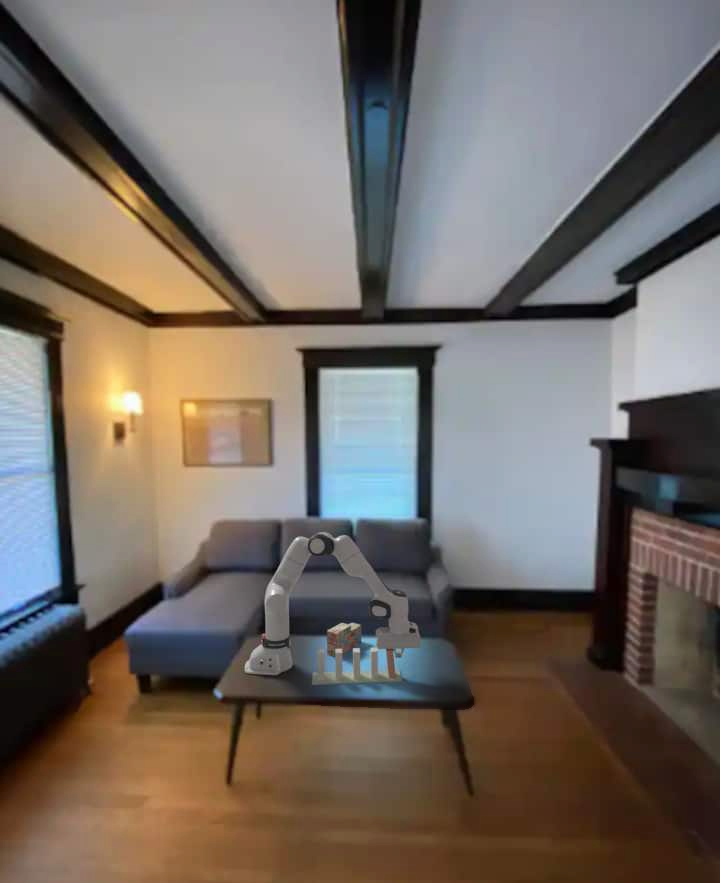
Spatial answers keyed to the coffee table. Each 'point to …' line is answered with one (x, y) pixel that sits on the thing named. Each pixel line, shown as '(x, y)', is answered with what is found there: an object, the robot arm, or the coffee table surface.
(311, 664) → the coffee table surface
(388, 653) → the domino
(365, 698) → the coffee table surface
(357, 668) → the domino
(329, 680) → the mat
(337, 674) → the domino
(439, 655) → the coffee table surface
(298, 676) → the coffee table surface
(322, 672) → the domino
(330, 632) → the stack of blocks
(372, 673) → the domino
